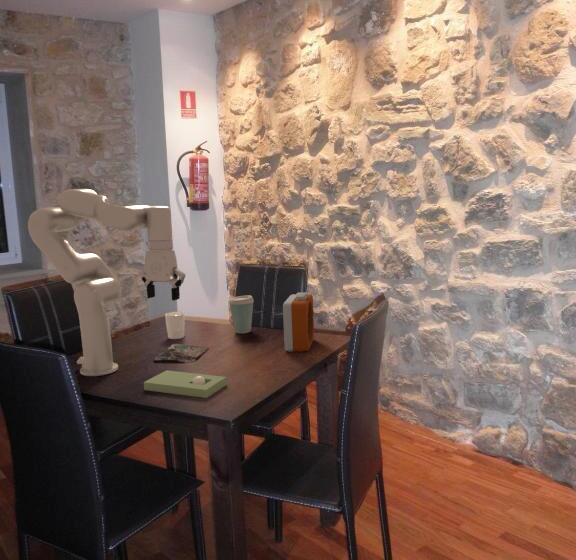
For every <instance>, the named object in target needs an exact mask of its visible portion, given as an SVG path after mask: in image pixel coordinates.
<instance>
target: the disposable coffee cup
mask: <svg viewBox="0 0 576 560" xmlns="http://www.w3.org/2000/svg"><path fill="white" fill-rule="evenodd" d="M254 302H255V300H254V298H253V296H252V295H240V296H235V297H231V298H230V299H229V300H228V304H229V308H230V314H231V319H232V324H233V328H234V331H235V333H237V334H247V333H250V332H251V330H252V323H253V309H254Z"/></svg>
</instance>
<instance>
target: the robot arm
mask: <svg viewBox="0 0 576 560" xmlns="http://www.w3.org/2000/svg"><path fill="white" fill-rule="evenodd" d="M57 203H58V206H55V207H54V206H52V207H44V208H39V209H36V210H35V211H33V212H32V213H31V214H30V216H29V218H28V221H27V229H28V233H29V236H30V238H31V240H32V242H33V243H34V244H35V245H36V247H37V248H38V249H39V250H40V251H41V252H42V253H43V254H44V255H45V257H46V258H47V259H48V260H49V262H50V263H51V265H52V266H53V267H54V269H55V270H56V271H57V272H58V274H59V275H60V276H61V277H62V279H63V280H64V281H65V282H67V283H69V284H78V283H79V284H78V285H77V287H76V288H75V289H74V292H73V300H74V303H75V306H76V310H77V313H78V314H77V315H78V319H79V328H80V336H81V347H82V355H83V356H79V358H78V359H77V361H76V364H77V365H81V368H80V369H79V374H80V375H82V376H84V377H98V376H105V375H109V374H112V373H114V372H116V371H118V369H119V365H118V363H116V362H114V357H113V347H112V345H113V344H112V336H111V325H110V319H109V315H108V313H107V311H106V309H105V307H104V306H106V305H109V304H112V303H114V302H117V301H118V300H119V299H120V297H121V296H122V293H123V292H122V286H121V283H120V281H119V280H118V278H117V277H116V276H115V275H114V273H113V272H112V270H111V269H110V267H108V265H107V264H106V263H105V261H103V260H104V259H102V258H101V257H100V256H99V255H97V254H95V253H92V252H84V253H78V252H77V251H75V249H74V248H73V247H72V245H71V244H70V243H69V241H67V240H66V239H65V238H64V237H62V236H60V235H59V234H58V233H60V232H68V231H72V230H74V229H76V228H77V227H79V226H80V225H81V224H82V223H84V222H85V221H87V220H91V221H95V222H97V223H98V224H100V225H101V226H103V227H107V228H110V229H114V230H119V231H123V232H124V231H125V232H127V231H128V232H129V231H136V230H145V229H147V231H146V232H147V241H146V242H145V245H146V246H147V248H148V249H146V252H145V257H144V258H145V259H144V268H143V269H142V270H140V271H139V272H138V274H139V275H140V277H141V280H142V282H143V283H144V286H145V287H146V294H147V295H146V298H147V299H151V298H155V297H156V291H155V290H156V289H155V288H156V287H155V284H154V283H157V282H158V283H169V284H170V285H171V286H172V287H171V300H172V301H177V300H180V297H181V296H180V295H181V294H180V287H181V286H182V284H183V283H184V280H185V278H186V273H184V272H183V271H181V270H180V269H178V262H177V255H176V253H175V252H176V251H175V249H173V248H174V247H173V229H172V213H171V208H170V207H169V206H165V205H153V206H150V205H144V204H140V205H129V206H128V205H127V206H122V205H117V204H114V203H113V204H112V203H111V201H110V200H109V198H108V197H107V196H105V195H100V194H98V193H97V192H96V191H94V190H93V189H90V188H70V189H66V190H64V191H62V192H61V193H60V194H59V196H58V199H57Z"/></svg>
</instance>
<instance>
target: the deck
mask: <svg viewBox="0 0 576 560" xmlns="http://www.w3.org/2000/svg"><path fill="white" fill-rule="evenodd" d="M197 376H201V377H203V378H204V379H205V382H206V383H205V384H204V385H200V384H192V381H193V379H194V378H195V377H197ZM227 378H228V377H227V376H221V375H212V374H211V375H210V374H203V373H193V372H192V373H191V372H186V371H185V372H184V371H176V370H168V369H167V370H164V371H163V372H161V373H159V374H157V375H155V376H152V377H151V378H149V379H147V380H146V381H144V382H143V390H144V391H150V392H159V393H166V394H172V395H173V394H174V395H178V396H179V395H181V396H189V397H195V398H204V399H207V398H209V397H211V396H212V395H213V394H215V393H216V392H218V391H220V390H221V389H222V388H224V387H226V386H227V385H228V379H227Z"/></svg>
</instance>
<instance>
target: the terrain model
mask: <svg viewBox="0 0 576 560" xmlns="http://www.w3.org/2000/svg"><path fill="white" fill-rule="evenodd" d="M208 351H209V348H208V347H206V346H199V345H187V344H184V343H183V344H182V343H173V344H171V345H169V347H168V348H166V349H165V350H164V349H163V350H162V351H161V352H160V353H158V354H157V356H156V357H155V358H153V361H152V362H153V363H157V362H158V363H160V362H162V363H164V362H165V364H166V363H174V364H177V363H178V364H189V363H195V362H197V360H199V359H200V358H201V357H202V356H203V355H204V354H205V353H206V352H208ZM162 363H161V364H162Z"/></svg>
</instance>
